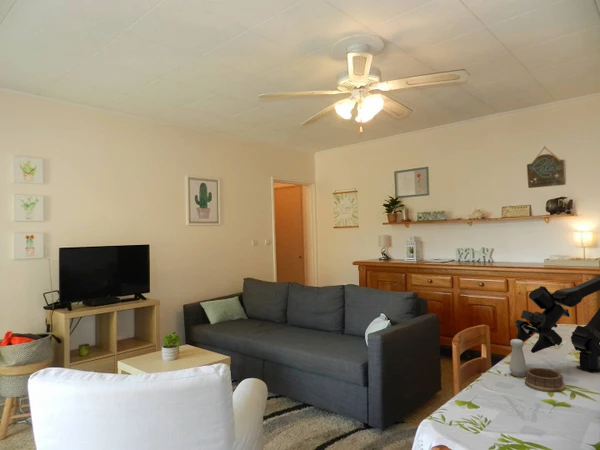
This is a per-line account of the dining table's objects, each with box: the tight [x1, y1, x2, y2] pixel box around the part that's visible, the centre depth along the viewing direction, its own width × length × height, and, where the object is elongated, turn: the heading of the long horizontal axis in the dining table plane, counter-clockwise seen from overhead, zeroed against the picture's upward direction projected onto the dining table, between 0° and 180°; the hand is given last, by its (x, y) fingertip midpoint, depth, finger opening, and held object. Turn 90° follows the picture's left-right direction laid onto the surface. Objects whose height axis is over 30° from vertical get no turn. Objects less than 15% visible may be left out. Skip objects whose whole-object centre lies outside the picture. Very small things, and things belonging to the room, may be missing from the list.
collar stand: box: [524, 367, 566, 393], centre depth 136 cm, size 12×12×4 cm
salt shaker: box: [508, 338, 528, 378], centre depth 147 cm, size 6×6×13 cm
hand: (523, 348), depth 147 cm, fingers open, 9 cm apart
